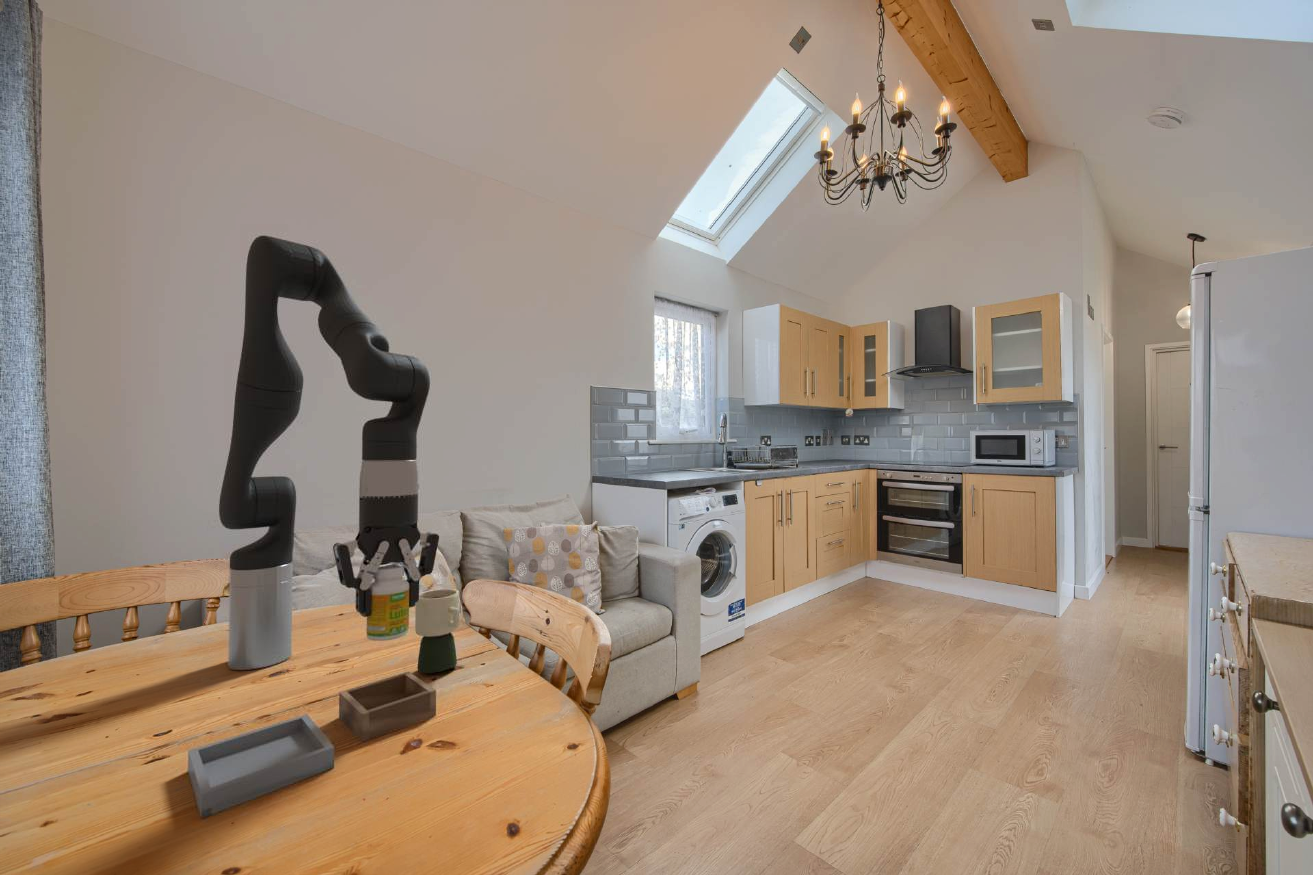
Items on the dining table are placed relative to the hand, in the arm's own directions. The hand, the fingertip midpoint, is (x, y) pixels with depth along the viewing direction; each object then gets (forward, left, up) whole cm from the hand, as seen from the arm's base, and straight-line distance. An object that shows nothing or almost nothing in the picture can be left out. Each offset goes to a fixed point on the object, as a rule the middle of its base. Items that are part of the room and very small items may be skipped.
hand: (388, 610), depth 76 cm
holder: (0, 0, -15) cm, 15 cm away
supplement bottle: (0, 0, -4) cm, 4 cm away
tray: (+3, -15, -15) cm, 21 cm away
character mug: (-11, +12, -15) cm, 22 cm away
